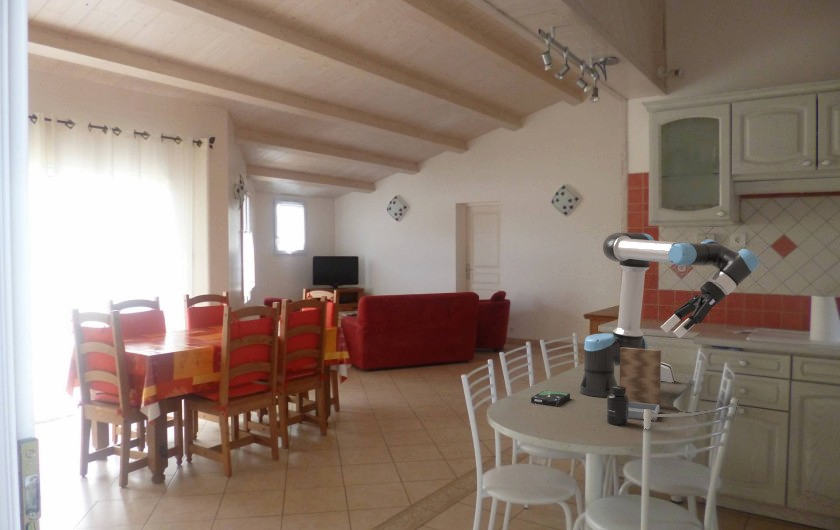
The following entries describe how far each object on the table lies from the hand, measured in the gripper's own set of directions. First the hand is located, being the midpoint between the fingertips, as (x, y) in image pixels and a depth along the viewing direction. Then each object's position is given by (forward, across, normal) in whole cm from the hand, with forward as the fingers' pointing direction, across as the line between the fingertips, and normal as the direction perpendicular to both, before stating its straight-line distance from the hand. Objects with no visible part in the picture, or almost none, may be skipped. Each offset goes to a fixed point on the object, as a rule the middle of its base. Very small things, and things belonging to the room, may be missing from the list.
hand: (669, 332), depth 202 cm
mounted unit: (+24, +22, -19) cm, 37 cm away
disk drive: (+47, +24, +4) cm, 53 cm away
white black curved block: (+11, +70, -32) cm, 77 cm away
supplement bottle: (+34, -4, -9) cm, 35 cm away
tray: (+27, +9, -16) cm, 32 cm away
